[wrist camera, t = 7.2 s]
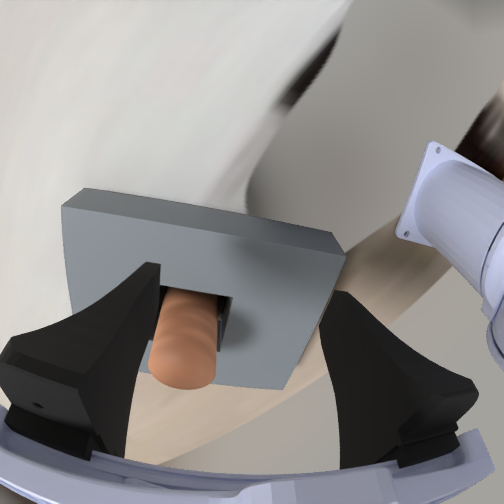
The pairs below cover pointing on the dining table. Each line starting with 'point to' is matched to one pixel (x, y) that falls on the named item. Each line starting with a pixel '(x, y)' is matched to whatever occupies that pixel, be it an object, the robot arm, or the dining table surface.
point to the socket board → (209, 273)
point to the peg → (185, 339)
